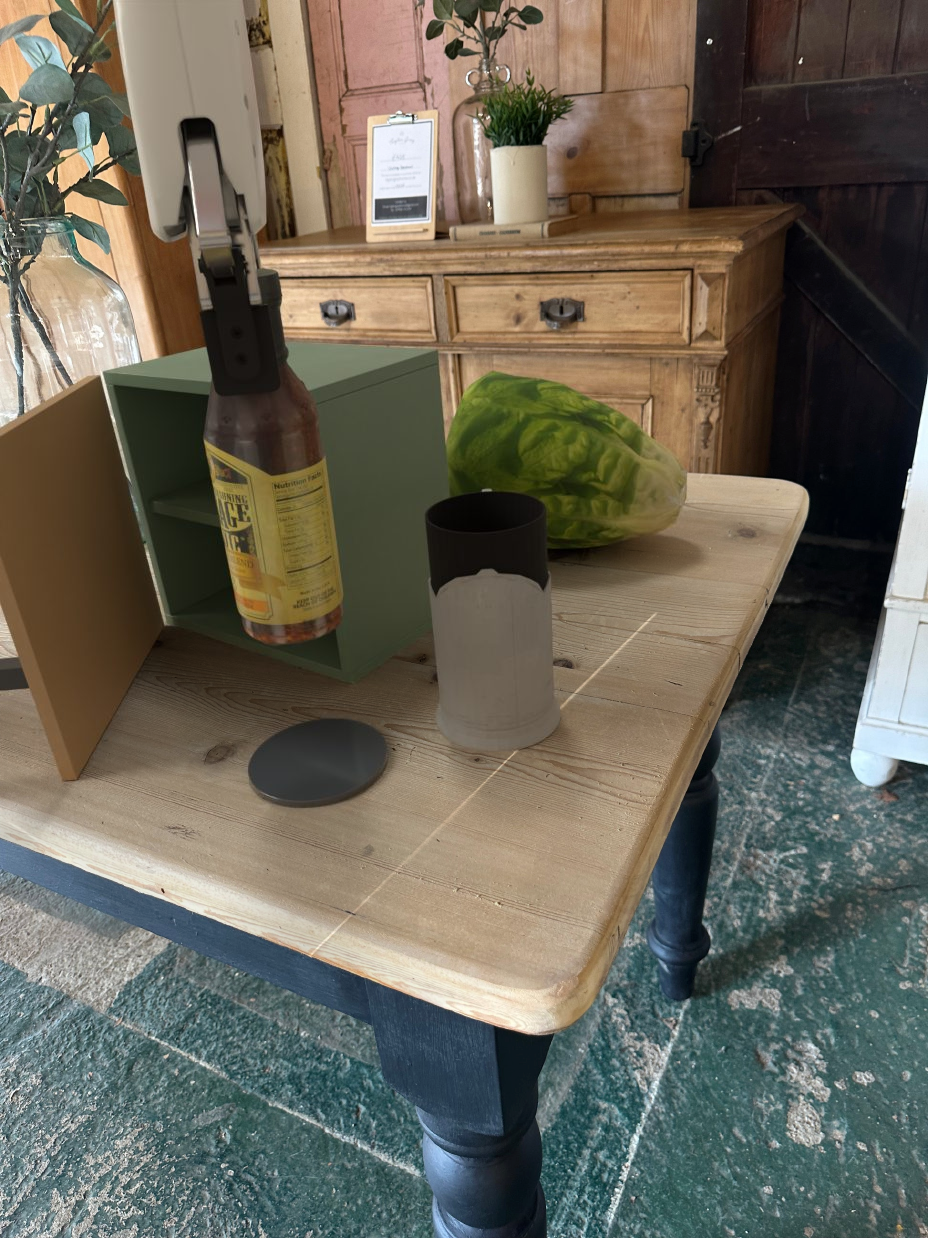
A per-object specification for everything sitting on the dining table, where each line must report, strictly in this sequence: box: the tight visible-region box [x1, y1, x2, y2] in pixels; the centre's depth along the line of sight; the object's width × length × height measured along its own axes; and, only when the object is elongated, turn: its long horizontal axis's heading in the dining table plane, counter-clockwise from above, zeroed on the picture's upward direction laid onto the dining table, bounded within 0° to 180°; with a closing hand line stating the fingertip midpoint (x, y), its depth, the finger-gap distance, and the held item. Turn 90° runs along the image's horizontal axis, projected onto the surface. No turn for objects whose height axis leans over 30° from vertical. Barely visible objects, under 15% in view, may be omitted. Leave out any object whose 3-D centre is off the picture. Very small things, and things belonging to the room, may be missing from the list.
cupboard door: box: [0, 374, 165, 782], centre depth 61 cm, size 7×22×22 cm, turn 3°
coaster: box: [247, 717, 389, 809], centre depth 56 cm, size 9×9×1 cm
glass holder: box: [425, 489, 562, 752], centre depth 59 cm, size 9×14×15 cm, turn 179°
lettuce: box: [445, 370, 688, 550], centre depth 83 cm, size 17×23×16 cm
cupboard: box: [102, 341, 450, 685], centre depth 71 cm, size 14×22×22 cm, turn 55°
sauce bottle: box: [195, 268, 343, 646], centre depth 47 cm, size 6×6×20 cm
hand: (250, 378), depth 45 cm, fingers closed on sauce bottle, 4 cm apart
